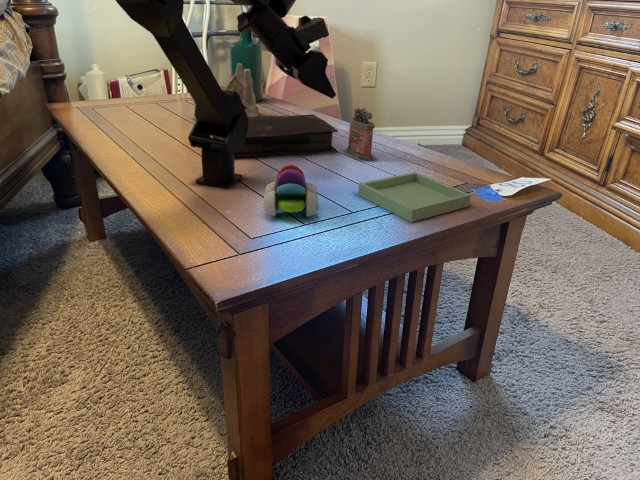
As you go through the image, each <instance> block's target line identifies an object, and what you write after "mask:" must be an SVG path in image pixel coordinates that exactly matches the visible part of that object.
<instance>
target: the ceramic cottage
mask: <svg viewBox="0 0 640 480" xmlns="http://www.w3.org/2000/svg"><path fill="white" fill-rule="evenodd" d="M242 75H243V68H242V64H238V65H237V68H236V74H235V75H234V76H233V77H231V76H228V83H227V85H219V86H220V87H221V89H222V90H227V91H234V92H237V93H238V94H239V96H240V98H241V101H242V103H243V105H244V106H245V107H246V108H247V109H246V110H245V112H246V114H247V117H257V116H260V109H259V106H258V105H257V102H256V100H255V95H254V93H253V87H252V82H253V81H252V78H251V71H250V69H244V77H243V76H242ZM193 104H194V106H195V105H196V103H195V101H194V100H193ZM194 118H195V117H194ZM195 121H196V118H195Z"/></svg>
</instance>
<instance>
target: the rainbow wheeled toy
mask: <svg viewBox="0 0 640 480" xmlns="http://www.w3.org/2000/svg"><path fill="white" fill-rule="evenodd" d="M277 209H278V210H279V211H281V212H286V213H299V212H302V211H304V210H305V215H306V217H307V218H309V217H311V216H314V215H315V214H316V213H317V212H318V211H319V198H318V188H317V187H316V185H314V184H313V183H312V182H308V181H307V182H306V176H305V173H304V171H303V170H302V169H301V168H300V167H299V166H296V165H294V164H288V165H285V166H282V167H281V168H280V170H278V172H277V174H276V181H271V182H270V183H268V184H267V185H266V187H265V189H264V197H263V210H264V212H265V213H266V214H267V215H269V216H271V217H276V216H277Z"/></svg>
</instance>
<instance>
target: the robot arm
mask: <svg viewBox="0 0 640 480" xmlns="http://www.w3.org/2000/svg"><path fill="white" fill-rule="evenodd" d="M230 1H231V2H232V3H233V4H234V5H244V6H249V7H248V9H247V10H246V12H245V11H243V12H241V13H239V14H238V15H237V16H236V20H237V26H238V28H237V32H238V33H239V34H240V33H241V32H243V31H244V30H246V29H247V28H249V29H250V30H251V31H252V34H253V35H254V36H255V37H256V38H257V40H258V39H259V40H260V41H261V42H262V43H263V44H262V45H263V46H264V48H265V49H266V50H267V51H268V52H269V53H271V55H272V56H273V57H274V58H275V59H274V61H275V63H274V64H275V66H276V67H277V68H278V69H279V70H280V71H281V72H283V73H284V74H286V75H287V76H289V77H291V78H293V79H295V80H297V81H298V82H299V83H300V84H301V85H303V86H305V87H307V88H309V89H311V90H313V91H315V92H317V93H319V94H321V95H323V96H326V97H328V98H330V99H332V100H333V99H334V98H335V97H336V96H337V93H336V91H335V89H334V87H333V85H332V83H331V82H330V79H329V78H328V75H327V72H326V71H327V67H328V63H329V59H328V57H326V55H325V54H324V53H323V51H320V50H317V49H311V48H312V46H311V45H310V44H313V43H314V42H317V41H319V40H320V39H325V38H327V37H329V36H330V33H329V30H328V26H327V23H326V21H325V19H324V17H319V16H318V17H313V18H310V17H309V16H308V15H303V16H301V17H298V25H297V26H296V27H294V26H290V25H288V24H287V22H285V20H284V18H285V17H286V16H287V15H288V14H289V12H290V11H291V9H292V8H293V6H294V4H295V3H296V1H297V0H230ZM115 2H116V3H117V5H118V6H119V7H120V8H121V9H122V11H124V12H125V14H126V15H127V16H128V17H129V18H130V19H131V20H132V21H133V22H135V23H136V24H138V25H139V26H141V27H142V28H143V29H145V30H146V31H148V32H149V33H150V34H151V35H152V37H154V39H155V41H156V42H157V44H158V45H159V47H160V49H161V51H162V52H163V54H164V56H165V57H166V58H167V60H168V62H169V63H170V65H171V66H172V68H173V70H174V71H175V72H176V74H177V76H178V77H179V80H180V81H181V82H182V84H183V85H184V87H185V89H186V90H187V92H188V94H189V95H190V96H191V98H192V100H193V102H194V101H195V103H196V105H195V104H194V118H196V120H195V121H194V124H193V125H192V128H191V130H190V132H189V134H188V137H187V139H188V142H189V145H190V147H191V148H198V149H201V151H200V154H201V170H202V171H201V172H202V175H201V176H199V177H198V178H196V179H195V183H196V184H200V185H206V186H213V187H219V188H226V189H227V188H229V187H231V186H232V185H234V184H235V183H237V182H238V181H239V180H241V179H242V178H243V174H241V173H236V168H235V167H236V166H235V165H236V164H235V156H234V153H235V152H237V151H240V150H242V149H244V147H245V142H246V136H247V131H248V117H247V114H246V112H245V110H246V109H247V108H246V107H245V106H244V105H243V103H242V101H241V98H240V96H239V94H238V93H237V92H234V91H227V90H222V89H221V87H220V86H221V85H220V84H219V82H218V80H217V78H216V76H215V75H214V73H213V71H212V69H211V68H210V66H209V64H208V62H207V61H206V58H205V57H204V54H203V53H202V52H201V49H200V48H199V45H198V44H197V42H196V41H195V39H194V36H192V34H191V31H190V30H189V27H188V26H187V24H186V23H185V21H184V18H183V17H184V5H185V1H184V0H115ZM212 136H216V137H221V138H226V141H224V140H219V139H214V138H213V137H212Z"/></svg>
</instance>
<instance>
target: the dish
mask: <svg viewBox="0 0 640 480" xmlns="http://www.w3.org/2000/svg"><path fill="white" fill-rule="evenodd" d="M357 191H358V192H357V195H358V196H360V197H363V198H364V199H365V200H368V201H369V202H372V203H374V204H375V205H377V206H379V207H381V208H383V209H385V210H387V211H389V212H391V213H393V214H394V215H396V216H398V217H400V218H402V219H403V220H406V221H408V222H410V223H413V222H416V221H420V220H424V219H428V218H431V217H435V216H438V215H443V214H446V213H449V212H453V211H457V210H460V209H465V208H468V207H470V203H471V197H472V195H471V194H469V193H467V192H466V191H465V192H464V191H463V190H460V189H458V188H455V187H452V186H450V185H449V184H448V185H447V184H445V183H443V182H441V181H438V180H436V179H434V178H431V177H428V176H427V175H424V174H421V173H419V172H417V171H413V172H408V173H403V174H398V175H393V176H388V177H384V178H379V179H374V180H369V181H364V182H360V183H358V190H357Z"/></svg>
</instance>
